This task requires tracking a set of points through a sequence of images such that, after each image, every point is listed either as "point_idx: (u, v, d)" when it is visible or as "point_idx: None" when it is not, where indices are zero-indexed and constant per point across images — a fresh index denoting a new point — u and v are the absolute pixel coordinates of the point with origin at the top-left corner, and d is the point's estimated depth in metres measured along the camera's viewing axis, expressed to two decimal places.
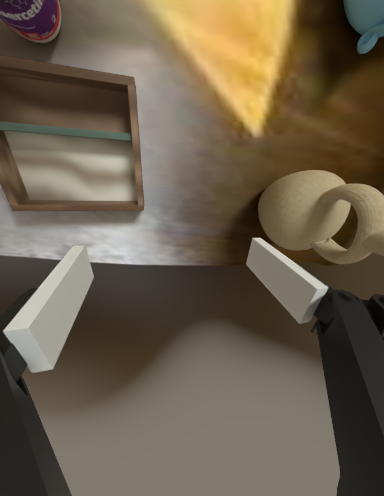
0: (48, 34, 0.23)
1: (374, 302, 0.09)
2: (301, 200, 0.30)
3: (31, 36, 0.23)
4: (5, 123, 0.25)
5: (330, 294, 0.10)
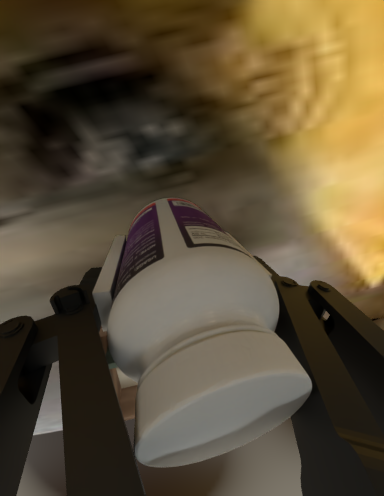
0: None
1: (313, 289, 0.09)
2: None
3: None
4: None
5: (273, 282, 0.10)
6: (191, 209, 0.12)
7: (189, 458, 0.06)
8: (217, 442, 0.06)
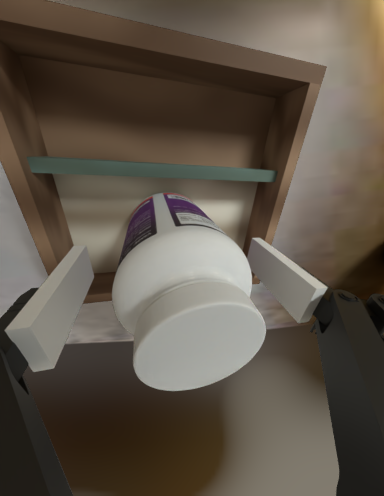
0: None
1: (373, 302, 0.09)
2: None
3: None
4: (64, 161, 0.12)
5: (329, 294, 0.10)
6: (183, 201, 0.14)
7: (175, 383, 0.07)
8: (196, 370, 0.07)
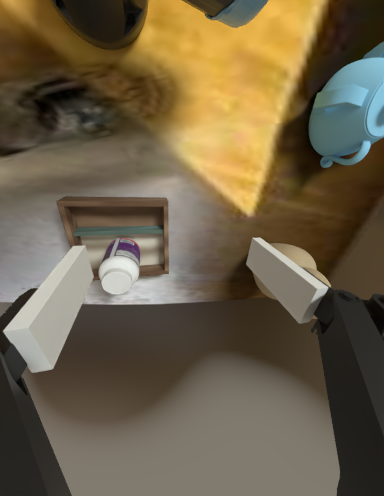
0: None
1: (374, 302, 0.09)
2: None
3: None
4: (84, 232, 0.38)
5: (330, 294, 0.10)
6: (124, 243, 0.40)
7: (111, 291, 0.34)
8: (116, 288, 0.33)
